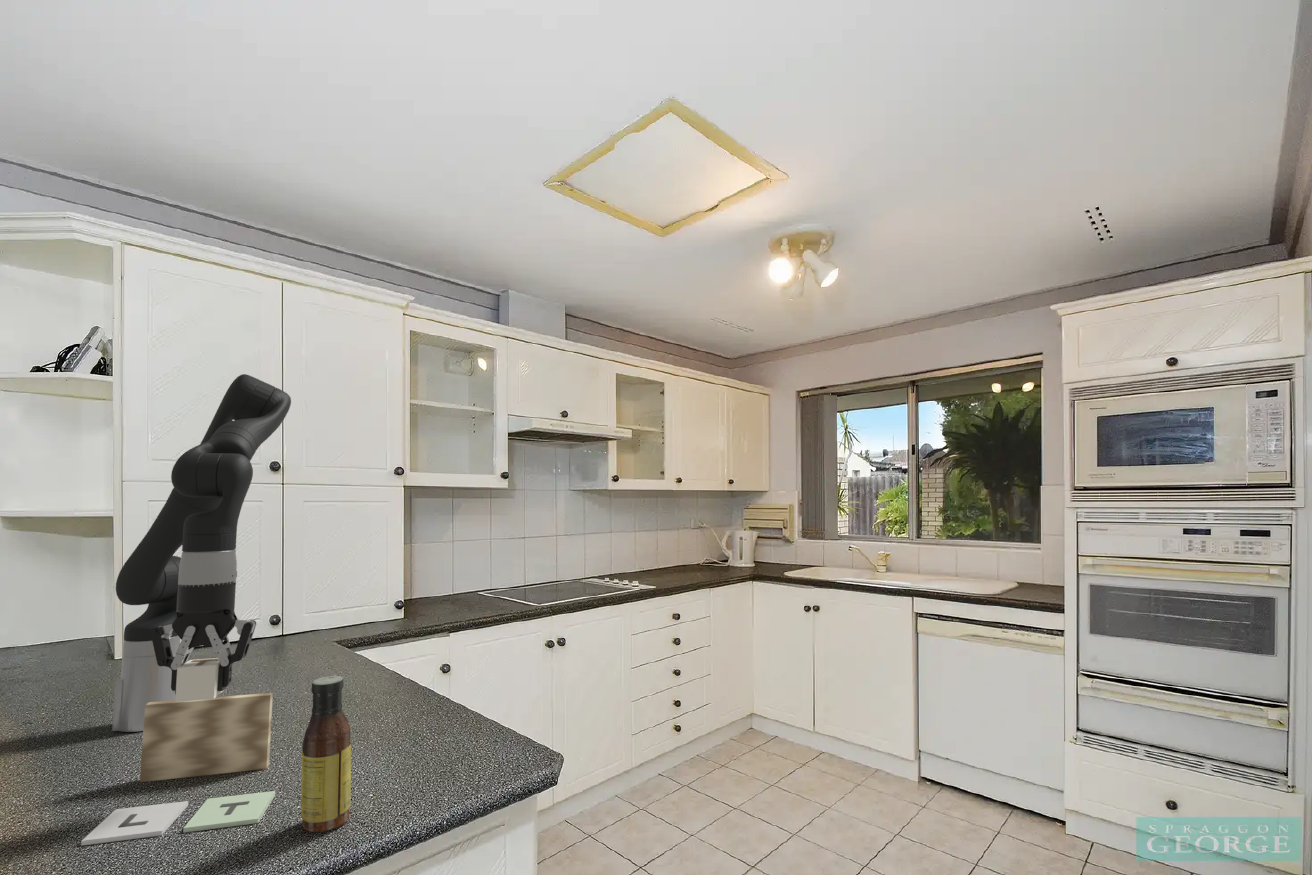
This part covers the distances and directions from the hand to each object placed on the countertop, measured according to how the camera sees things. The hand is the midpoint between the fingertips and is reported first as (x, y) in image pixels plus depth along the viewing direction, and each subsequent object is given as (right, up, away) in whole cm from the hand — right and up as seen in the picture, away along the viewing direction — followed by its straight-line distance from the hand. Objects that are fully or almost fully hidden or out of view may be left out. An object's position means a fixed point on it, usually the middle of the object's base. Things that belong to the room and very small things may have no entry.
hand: (201, 690), depth 100 cm
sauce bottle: (+24, -15, -10) cm, 30 cm away
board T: (+9, -15, -6) cm, 19 cm away
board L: (-2, -15, -10) cm, 18 cm away
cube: (0, -1, 0) cm, 1 cm away
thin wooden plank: (-4, -16, +7) cm, 18 cm away
